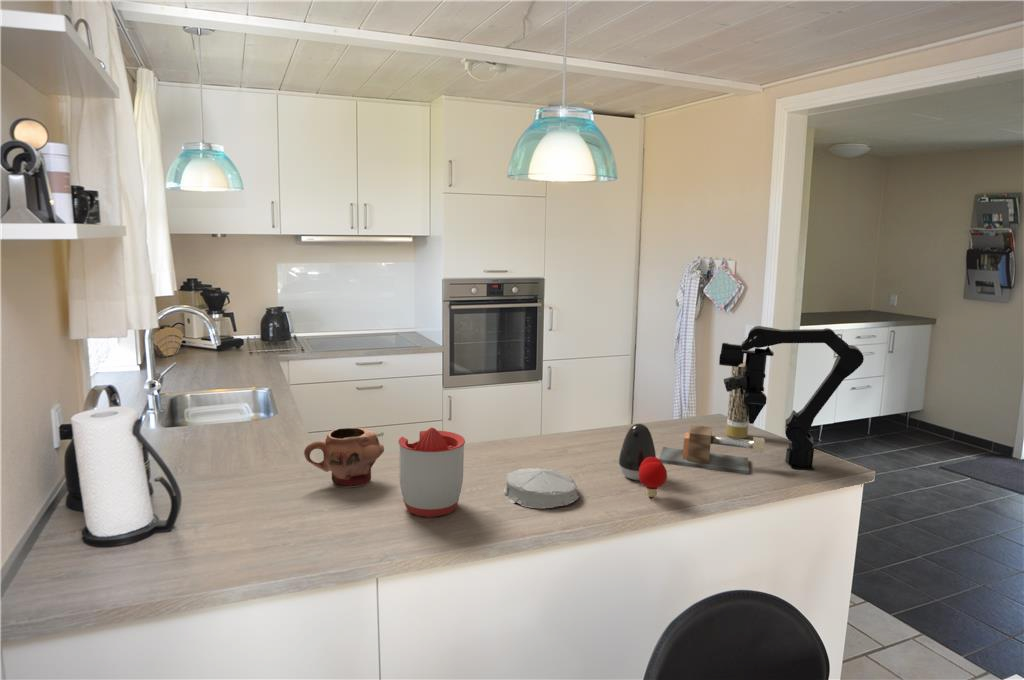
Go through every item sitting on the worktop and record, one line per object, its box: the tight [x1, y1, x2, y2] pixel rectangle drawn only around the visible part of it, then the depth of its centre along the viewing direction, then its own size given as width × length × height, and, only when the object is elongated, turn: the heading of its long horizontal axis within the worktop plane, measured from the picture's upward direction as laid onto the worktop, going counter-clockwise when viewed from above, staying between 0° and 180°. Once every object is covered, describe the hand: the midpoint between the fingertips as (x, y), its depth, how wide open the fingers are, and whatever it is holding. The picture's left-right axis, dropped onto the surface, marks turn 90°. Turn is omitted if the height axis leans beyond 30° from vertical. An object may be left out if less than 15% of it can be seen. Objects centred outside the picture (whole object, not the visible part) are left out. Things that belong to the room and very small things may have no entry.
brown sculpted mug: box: [303, 427, 385, 488], centre depth 172 cm, size 20×12×14 cm, turn 115°
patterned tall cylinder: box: [725, 361, 750, 439], centre depth 223 cm, size 7×7×25 cm
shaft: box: [711, 435, 766, 455], centre depth 196 cm, size 18×4×4 cm, turn 72°
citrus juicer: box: [398, 427, 466, 518], centre depth 159 cm, size 16×17×20 cm
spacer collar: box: [682, 432, 690, 459], centre depth 200 cm, size 1×6×6 cm, turn 162°
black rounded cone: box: [618, 423, 657, 481], centre depth 183 cm, size 10×10×15 cm
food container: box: [503, 467, 580, 510], centre depth 170 cm, size 20×20×7 cm
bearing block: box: [658, 424, 750, 475], centre depth 198 cm, size 25×12×10 cm, turn 72°
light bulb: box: [638, 456, 668, 499], centre depth 170 cm, size 9×7×10 cm
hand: (749, 419), depth 201 cm, fingers open, 9 cm apart
